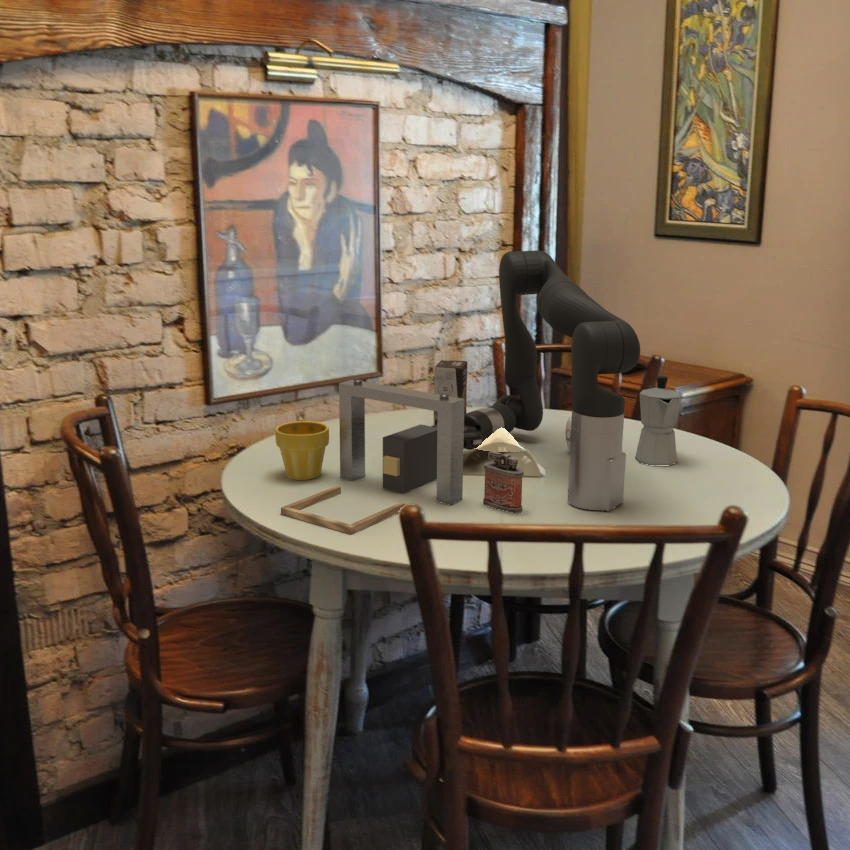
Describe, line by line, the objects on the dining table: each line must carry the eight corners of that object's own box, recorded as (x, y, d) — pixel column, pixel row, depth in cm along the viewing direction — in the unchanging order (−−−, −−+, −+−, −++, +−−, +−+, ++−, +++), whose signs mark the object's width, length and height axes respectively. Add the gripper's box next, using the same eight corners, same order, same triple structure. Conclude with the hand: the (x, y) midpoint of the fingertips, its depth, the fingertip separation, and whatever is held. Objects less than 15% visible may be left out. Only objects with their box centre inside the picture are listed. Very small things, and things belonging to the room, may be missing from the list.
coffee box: (460, 438, 220) (462, 368, 216) (432, 436, 221) (433, 366, 217) (467, 428, 229) (468, 360, 224) (440, 426, 230) (440, 358, 226)
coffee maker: (684, 469, 199) (692, 383, 194) (641, 469, 199) (647, 383, 194) (666, 449, 213) (673, 368, 209) (626, 448, 213) (632, 367, 209)
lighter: (526, 510, 175) (528, 456, 172) (514, 514, 173) (516, 460, 170) (490, 499, 180) (492, 447, 178) (479, 504, 178) (480, 451, 175)
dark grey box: (440, 477, 192) (441, 428, 190) (400, 494, 182) (400, 443, 180) (420, 472, 195) (420, 424, 193) (379, 489, 185) (379, 438, 183)
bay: (405, 509, 174) (405, 503, 174) (351, 534, 163) (351, 527, 162) (336, 492, 183) (336, 485, 183) (280, 514, 172) (280, 507, 171)
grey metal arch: (462, 499, 180) (464, 395, 175) (450, 505, 177) (451, 399, 172) (353, 473, 195) (352, 376, 190) (340, 478, 192) (338, 380, 187)
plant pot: (290, 486, 186) (289, 437, 184) (268, 472, 195) (266, 425, 192) (339, 477, 192) (338, 429, 189) (314, 464, 200) (313, 418, 198)
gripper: (453, 405, 209) (403, 422, 195) (506, 415, 201) (458, 433, 188) (452, 439, 211) (403, 458, 197) (505, 450, 203) (458, 470, 190)
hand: (430, 446), depth 192 cm, fingers closed
